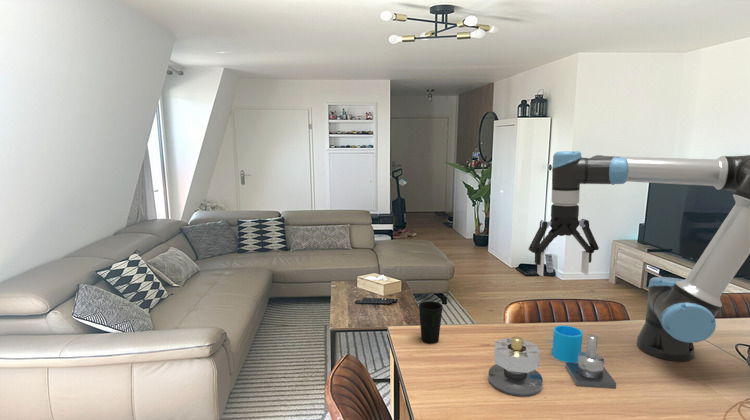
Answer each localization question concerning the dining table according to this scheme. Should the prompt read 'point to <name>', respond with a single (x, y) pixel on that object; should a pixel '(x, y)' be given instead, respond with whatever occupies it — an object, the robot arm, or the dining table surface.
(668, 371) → the dining table surface
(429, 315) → the cup
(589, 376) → the stand
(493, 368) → the hub
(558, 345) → the mug
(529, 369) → the faceted steel ring
